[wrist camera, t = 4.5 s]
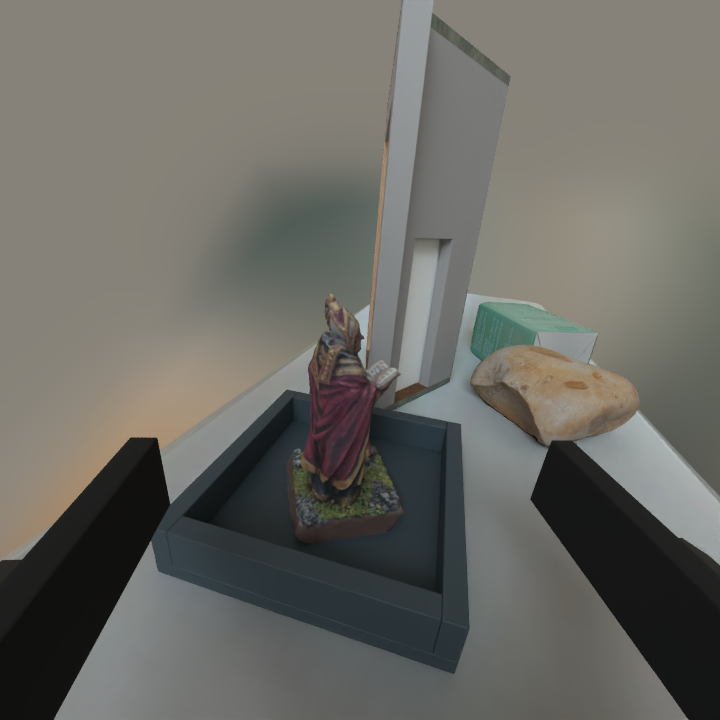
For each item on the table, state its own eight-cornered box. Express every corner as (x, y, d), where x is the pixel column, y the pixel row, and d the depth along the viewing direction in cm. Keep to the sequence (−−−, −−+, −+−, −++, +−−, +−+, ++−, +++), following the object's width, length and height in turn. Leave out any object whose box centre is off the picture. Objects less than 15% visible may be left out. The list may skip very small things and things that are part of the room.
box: (514, 350, 50) (527, 301, 47) (579, 395, 37) (603, 332, 34) (467, 349, 49) (478, 299, 46) (518, 395, 36) (537, 330, 33)
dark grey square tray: (157, 571, 16) (146, 526, 15) (287, 420, 29) (286, 389, 27) (454, 674, 13) (469, 629, 12) (453, 456, 26) (460, 423, 25)
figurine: (290, 549, 17) (287, 322, 12) (286, 462, 23) (283, 285, 18) (408, 530, 18) (447, 322, 14) (376, 453, 24) (395, 288, 19)
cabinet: (366, 345, 47) (387, 105, 36) (434, 350, 47) (475, 112, 36) (363, 431, 28) (405, -24, 17) (477, 440, 28) (592, -9, 17)
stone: (610, 386, 34) (665, 348, 27) (603, 488, 30) (667, 473, 23) (476, 350, 38) (495, 307, 31) (453, 436, 34) (469, 410, 26)
